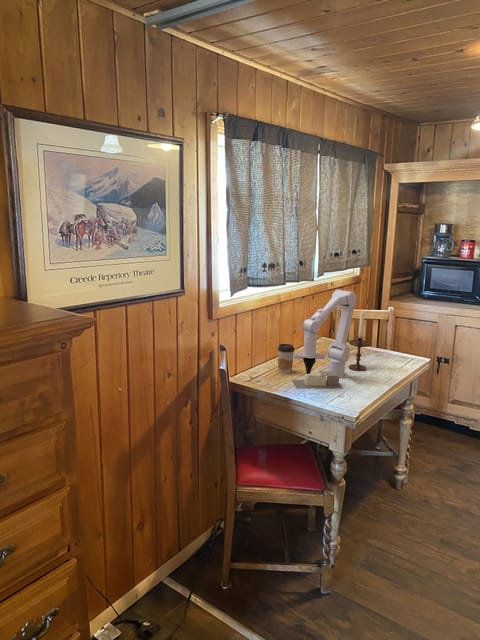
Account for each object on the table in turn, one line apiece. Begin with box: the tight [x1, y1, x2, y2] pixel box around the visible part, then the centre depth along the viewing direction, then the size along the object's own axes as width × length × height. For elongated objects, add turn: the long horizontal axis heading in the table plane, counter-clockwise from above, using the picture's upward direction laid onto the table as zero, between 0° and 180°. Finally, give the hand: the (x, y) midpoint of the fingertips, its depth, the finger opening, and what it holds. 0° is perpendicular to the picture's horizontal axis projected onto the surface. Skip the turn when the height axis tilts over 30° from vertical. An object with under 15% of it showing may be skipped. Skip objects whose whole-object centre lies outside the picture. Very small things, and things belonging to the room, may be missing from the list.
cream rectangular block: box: [303, 373, 327, 386], centre depth 228 cm, size 5×9×4 cm, turn 95°
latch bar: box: [319, 370, 336, 377], centre depth 228 cm, size 2×7×2 cm, turn 95°
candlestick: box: [348, 304, 371, 372], centre depth 255 cm, size 11×11×35 cm
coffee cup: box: [277, 343, 295, 375], centre depth 244 cm, size 8×8×15 cm
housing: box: [291, 375, 344, 390], centre depth 228 cm, size 12×22×6 cm, turn 95°
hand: (308, 373), depth 227 cm, fingers closed
